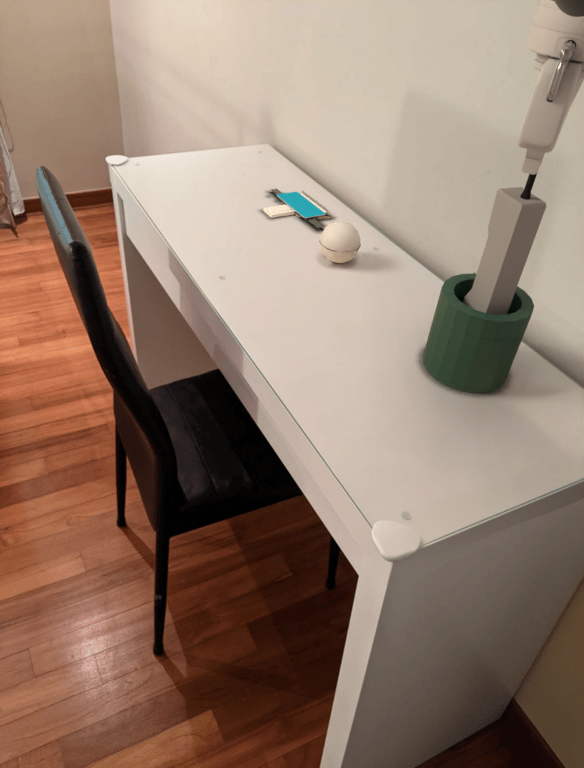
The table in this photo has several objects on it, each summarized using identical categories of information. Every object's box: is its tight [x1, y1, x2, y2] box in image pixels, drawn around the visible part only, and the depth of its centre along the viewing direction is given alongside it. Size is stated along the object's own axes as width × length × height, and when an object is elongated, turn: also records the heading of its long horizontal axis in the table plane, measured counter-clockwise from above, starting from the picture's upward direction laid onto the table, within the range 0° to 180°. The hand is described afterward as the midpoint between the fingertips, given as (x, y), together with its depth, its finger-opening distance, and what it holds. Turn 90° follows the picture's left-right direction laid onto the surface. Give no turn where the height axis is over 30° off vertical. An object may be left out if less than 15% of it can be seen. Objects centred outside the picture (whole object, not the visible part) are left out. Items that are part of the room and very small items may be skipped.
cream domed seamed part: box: [319, 220, 364, 264], centre depth 109 cm, size 10×7×7 cm
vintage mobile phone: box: [463, 171, 547, 315], centre depth 76 cm, size 4×5×25 cm
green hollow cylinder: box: [422, 273, 535, 394], centre depth 86 cm, size 12×12×12 cm
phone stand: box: [262, 188, 332, 232], centre depth 127 cm, size 20×12×2 cm, turn 30°
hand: (530, 169), depth 71 cm, fingers closed on vintage mobile phone
